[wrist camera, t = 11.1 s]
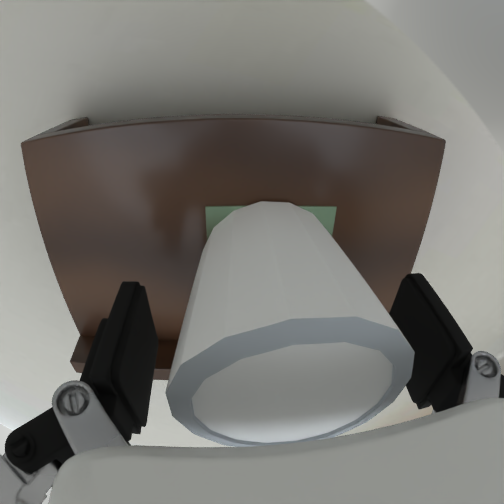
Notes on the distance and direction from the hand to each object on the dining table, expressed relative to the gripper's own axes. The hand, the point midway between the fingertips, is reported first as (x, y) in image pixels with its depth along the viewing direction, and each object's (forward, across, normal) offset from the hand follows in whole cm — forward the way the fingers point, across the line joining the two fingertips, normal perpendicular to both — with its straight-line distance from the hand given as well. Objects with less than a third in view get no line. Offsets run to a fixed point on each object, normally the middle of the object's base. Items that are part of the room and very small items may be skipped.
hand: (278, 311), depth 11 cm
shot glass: (+3, 0, 0) cm, 3 cm away
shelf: (+8, +2, 0) cm, 8 cm away
